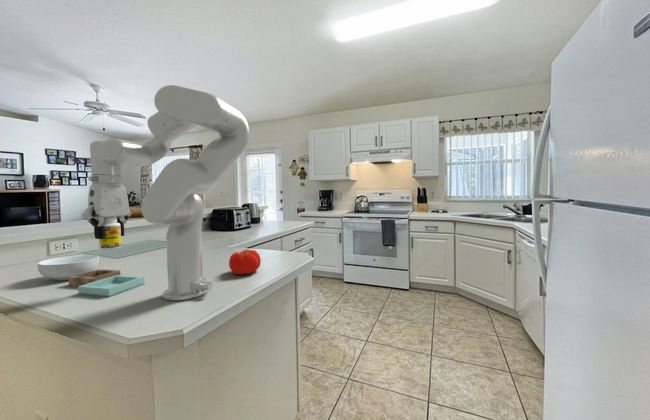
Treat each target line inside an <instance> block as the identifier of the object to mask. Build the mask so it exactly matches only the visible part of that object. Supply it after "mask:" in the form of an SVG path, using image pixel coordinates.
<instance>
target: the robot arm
mask: <svg viewBox="0 0 650 420" xmlns="http://www.w3.org/2000/svg"><path fill="white" fill-rule="evenodd" d="M153 100H154V103H153V104H154V106H155V109H156V110H157V112H155V113H154V114H152V115H151V116H149V117H148V118H147V120H146V121H147V127H148V130H149V131H150V132H151V134H152V135H153V137H152V138H151V139H149V140H148V141H146V142H145V143H140V142H136V141H131V140H127V139H122V138H109V139H106V140H95V141H92V142H91V143H90V145H89V151H90V152H89V153H90V171H91V175H90V176H88V181H91V185H89V190H88V193H87V194H88V196H87V209H86V210H85V211H84V212H83V213H82V214H81V217H82V218H83V219H84V220H86V221H87V222H88V223H89V224H91V226H92V227H93V234H94V238H95V240H99V239H104V238H105V227H104V226H102V224H103V221H104V218H105V217H117V223H120V226H121V237H124V236H125V224H126V223H127V220H128V219H129V217H131V215H132V214H133V212H132V210H130V205H129V198H128V197H129V195H128V193H127V189H126V186H125V185H123V176H122V175H123V174H122V165H126V166H134V167H136V166H137V167H148V166H151V165H154V164H155V163H156V162H159V161H160V160H162V159H163V158H164V157H166V156H167V155H168V153H169V151H170V149H171V147H172V142H173V141H175V140H176V139H179V138H180V137H182V135H184V134H186V133H188V132H189V131H190V130H193V129H194V128H196V127H197V126H200V127H204V128H206V129H208V130H211V131H213V132H216V133H219V136H218V137H216V138H215V139H213V140H212V141H211V142H210V143H208V144H207V145H206V146H205V148H204V149H203V151H202V152H201V153H200V154H199V156H198V157H197V158H195V159H189V158H177V159H174V160H172V161H170V162H169V163H167V164H166V165H165V166H164V167H163V169H162V170H161V171H160V173H159V174H158V176H157V177H156V178H155V179H154V181H153V182H152V184H151V185H150V187H149V188H148V190H147V191H146V193H145V195H144V197H142V201H141V205H140V209H141V211H140V212H141V214H142V217H143V218H144V220H146V221H147V222H148V223H151V224H153V225H160V226H161V225H169V226H168V228H167V231H166V236H165V237H166V238H165V242H166V244H165V245H166V265H167V266H166V269H167V285H168V288H167V289H165V290H164V291H163V292H162V298H163V299H164V300H167V301H174V302H175V301H185V300H190V299H195V298H198V297H201V296H203V295H205V294H207V293H208V291H211V290H212V289H213V285H214V282H213V281H207V276H204V275H203V274H204V273H203V271H204V270H203V266H204V265H203V247H202V241H203V238H202V226H203V225H202V224H203V223H202V222H203V216H204V212H205V211H204V209H205V207H204V202H203V200H202V198H201V196H200V195H208V194H210V193H212V192H213V191H214V190H215V189H217V186H218V185H219V184H220V182H221V181H222V180H223V178H224V177H225V175H226V174H227V173H228V172H229V170H230V169H231V167H233V164H234V163H235V162H236V161H237V159H238V158H239V157H240V156H241V155H242V153H243V152H244V150H245V148H247V145H248V142H249V140H250V126H249V123H248V121H247V119H246V117H245V116H244V115H243V114H242V112H240V111H239V110H238V109H237V108H235V107H234V106H232V105H230V104H228V103H227V102H225V100H222V99H220V98H219V97H218V96H216V95H213V94H212V93H209V92H206V91H200V90H197V89H192V88H187V87H183V86H180V85H174V84H169V85H164V86H163V87H161V88H159V89H158V90H157V92H156V93H155V95H154V99H153Z"/></svg>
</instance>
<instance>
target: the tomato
mask: <svg viewBox="0 0 650 420" xmlns="http://www.w3.org/2000/svg"><path fill="white" fill-rule="evenodd" d="M261 261H262V260H261V255H260V254H259V252H258V251H256V250H255V249H244V250H242V251H235V252H233V253H232V254H231V256H230V257H229V260H228V267H229V269H230V270H231V272H232V273H233V274H235V275H238V276H242V275H250V274H252V273H253V272H256V271H257V270H258V269H259V268H260V267H261V263H262V262H261Z"/></svg>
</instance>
